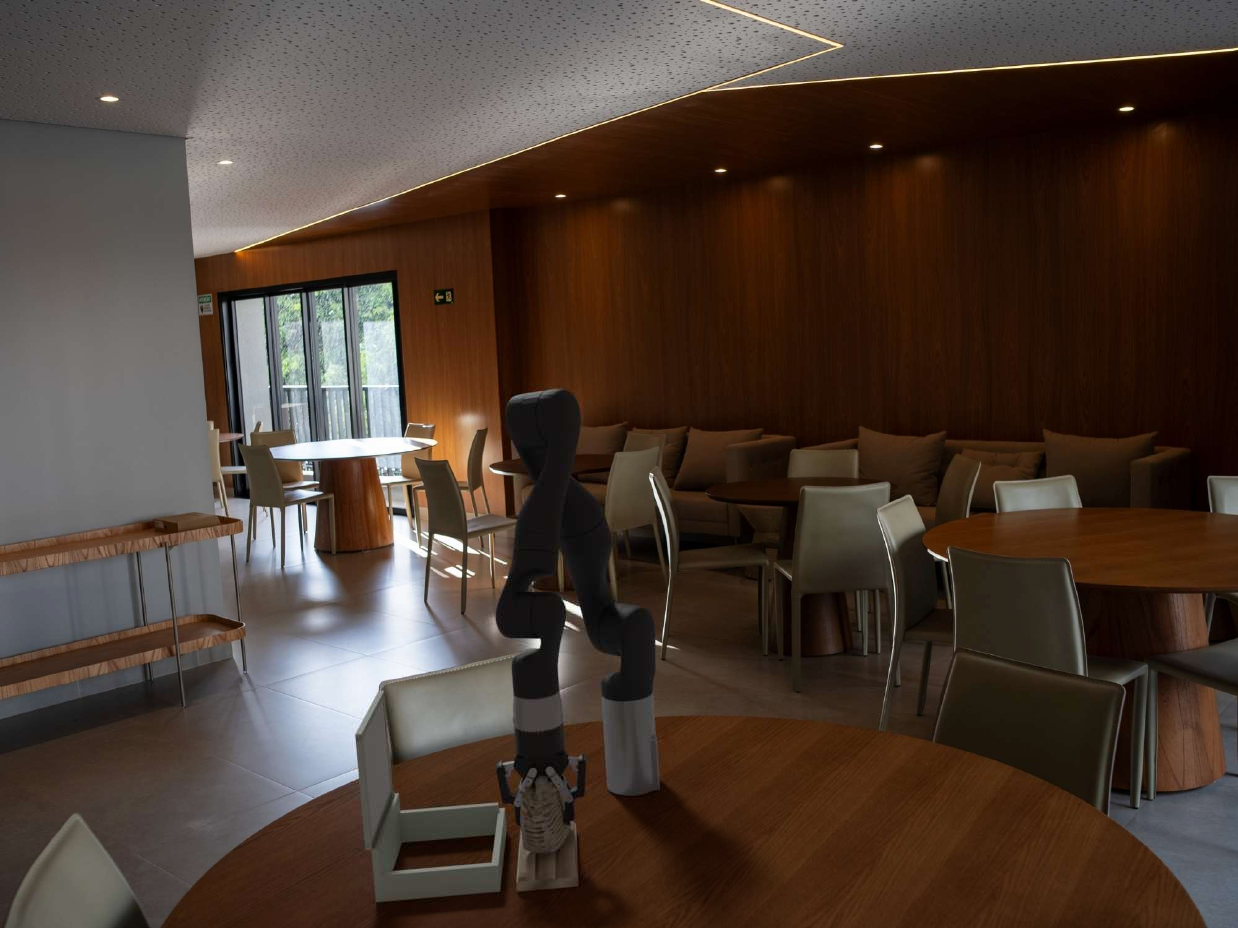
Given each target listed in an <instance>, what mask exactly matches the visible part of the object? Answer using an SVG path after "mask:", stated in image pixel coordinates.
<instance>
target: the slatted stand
mask: <svg viewBox="0 0 1238 928" xmlns="http://www.w3.org/2000/svg"><path fill="white" fill-rule="evenodd" d="M571 824H572V826H571V829H570V830H569V831H570V832H569V833H568V834H567V836H566V839H565V841H564V842H563V844H561V845H560V848H559V849H557V850H556V851H555V852H553V853H536V852H529V851H528V850H525V849H524V848H523V842H522V831H521V827H520V828H519V829H520V831H519V842H518V843H519V844H518V855H517V856H518V857H517V868H516V869H517V871H516V892H528V891H529V892H530V891H539V890H550V889H551V890H552V889H563V888H573V887H579V886H580V885H579V870H578V869H579V867H578V866H579V865H578V842H577V841H578V839H577V825H576V824H577V823H575V821H571Z"/></svg>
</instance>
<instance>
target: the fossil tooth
mask: <svg viewBox="0 0 1238 928" xmlns="http://www.w3.org/2000/svg"><path fill="white" fill-rule="evenodd" d="M535 786H536V787H532V786H530V788H529V789H527V790H526V791H525V796H524V798H523V803H522V805H521V809H520V821H521V822H520V824H521V826H520V828H521V831H522V842H523V848H524V849H525V850H528V851H529V852H536V853H553V852H555V851H556V850H557V849H559V848H560V845H561V844H563V842H564V841H565V839H566V836H567V834H568V833H569V832H570V831H569V830H570V829H571V826H572V824H571V821H570V825H566V819H565V804H564V797H563V796H562V794H561V793H560V792H559V791H558V789H557V788H556V786H555V785H554V784H553V781H549V780H548V776H542V775H539V776H538V778H537V780H535Z"/></svg>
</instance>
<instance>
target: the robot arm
mask: <svg viewBox="0 0 1238 928" xmlns="http://www.w3.org/2000/svg"><path fill="white" fill-rule="evenodd" d="M581 413H582V412H581V408H580V404H579V402H578V400H577V397H576V396H575V395H574V393H572V391H570V390H569V389H566V388H553V389H546V390H540V391H533V392H526V393H522V394H517V395H514V396H512V397H511V398H510V399H509V401H508V402H507V404H506V407H505V422H506V429H507V430H508V434H509V436H510V439H511V440H510V441H511V442H512V443H513V446H514V448H515V450H516V452H517V454H518V457H519V458H520V460H521V462H522V464H523V466H524V468H525V469H526V472H527V473H528V475H529V477H530V479H531V482H532V483H533V485H534V486H533V488H532V490H531V491H530V492H529V493H528V495H527V497H526V499H525V500H524V503H523V504H522V506H521V509H520V511H519V512H518V516H517V519H516V522H515V527H514V539H513V547H512V549H513V550H512V558H511V559H512V561H511V564H510V567H509V571H508V574H507V577H506V580H505V583H504V586H503V589H502V590H501V594H500V596H499V599H498V602H497V605H496V609H495V618H494V619H495V625H496V627H497V630H498V631H499V633H500V634H501V635H502V636H503V637H505V638H507V639H527V640H528V639H529V640H530V639H531V640H536V639H537V640H540V645H539V648H536V649H532V650H527V651H523V652H521V653H518V654H517V655H515V656H514V657H513V659H512V661H511V676H512V677H511V678H512V679H511V681H512V691H513V692H512V695H513V698H512V699H513V700H512V723H513V730H514V731H513V733H514V744H515V757H514V758H513V760H512V761H504V760H499V761H498V762H497V764H496V768H495V769H496V770H495V771H496V772H495V773H496V776H497V782H498V787H499V793H500V799H501V802H502V804H503V805H507V804H511V805H513V807H514V813H515V814H514V816H515V825H516V826H517V827H519V826H520V827H521V824H520V822H521V821H520V809H521V805H522V803H523V798H524V796H525V791H526V790H527V789H529V788H530V786H532V787H536V786H535V780H537V778H538V776H539V775H542V776H548V780H549V781H553V784H554V785H555V786H556V788H557V789H558V791H559V792H560V793H561V795H562V798H563V801H564V805H565V819H566V825H570V821H574V820H575V817H576V816H575V800H577V799H579V798H580V799H581V798H584V796H585V795H586V794H585V791H586V775H587V773H586V771H587V759H586V758H587V757H586V755H585V754H584V753H580V754H579V755H577V756H569V755H568V753H567V750H566V746H565V745H566V743H565V731H564V730H565V729H564V712H563V702H562V698H561V697H562V696H561V691H560V681H559V658H560V657H559V656H560V649H561V643H562V638H563V634H564V629H565V625H566V619H567V607H566V603H565V602H564V600H563V598H562V597H561V596H560V595H559V594H558V593H557V592H553V591H528V589H529V587H530V586H531V584H533V583H534V582H537V581H539V580H542V579H546V578H551V577H553V576H554V575H555V574H556V573H557V572H558V571H557V570H558V567H559V555H560V554H561V556H562V558H563V560H564V563H565V566H566V569H567V571H568V574H569V577H570V579H571V583H572V586H573V588H574V591H575V594H576V597H577V598H576V599H577V601H578V604H579V608H580V613H581V616H582V620H583V624H584V628H585V631H586V634H587V637H588V640H589V643H591V645H592V647H594V649H595V650H596V651H598V652H600V653H603V654H605V655H610V656H616V657H620V669H619V670H616V671H612V672H610V673H608V674H606V675H604V676H603V677H602V679H601V681H600V692H601V705H602V706H601V707H602V723H603V725H602V726H603V738H604V756H605V757H604V758H605V769H606V770H605V771H606V773H605V775H606V785H607V786H606V787H607V790H608V791H610V792H612V793H613V794H615V795H618V796H619V795H620V796H627V797H633V796H634V797H635V796H642V795H646V794H649V793H651V792H653V791H659V790H661V789H660V788H661V787H660V771H659V769H660V768H659V767H660V766H659V751H658V739H657V734H656V720H655V719H656V718H655V703H654V699H655V698H654V680H655V676H656V623H655V620H654V617H653V615H652V613H651V612H650V610H649V609H648V608H646V607H644V606H641V605H635V604H628V603H621V602H617V601H616V600H615V598H614V596H613V595H612V593H611V590H610V588H609V587H610V586H609V585H608V580H607V569H608V564H609V562H610V558H611V556H612V549H613V537H612V531H611V529H610V526H609V524H608V521H607V518H606V515H605V513H604V509H603V507H602V506H601V503H600V502H599V501H598V499H597V498H596V497H595V496H594V495H593V494H592V493H591V491H589V490H588V489H587V488H586V487H585V486H584V485H583V484H581V483H580V482H579V481H578V480H576V479H575V478H574V476H572V473H573V472H572V471H573V466H574V461H575V459H576V453H577V449H578V444H579V440H580V435H581V426H582V425H581V424H582V414H581ZM569 765H570V766H571V767H572V768H571V769H572V770H573V772H575V773H576V786H574V787H571V786H570V784H569V783H568V781H567V778H566V777H565V775H564V772H565V771H566V769H567V768H568V767H569ZM513 770H515V772H516V773H517V774H518V775H519V776H520V777H521V780H520V782H519V785H518V788H517V789H516V792H513V791H511V789H510V784H509V783H510V782H509V777H511V775H512V771H513ZM574 822H575V821H574Z"/></svg>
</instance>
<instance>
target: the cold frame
mask: <svg viewBox="0 0 1238 928" xmlns="http://www.w3.org/2000/svg"><path fill="white" fill-rule="evenodd" d="M386 707H387V706H386V697H385V690H378V691H377V692H376V695H375V697H374V698H373V700H372V702H371V704H370V706H369V708H368V710H367V712H366V714H365V715H364V717H363V719H362V721H361V723H360V725H359V727H358V728H357V730H356V732H355V734H354V736H355V737H354V738H355V747H356V750H355V751H356V758H357V759H356V761H357V769H358V783H359V792H360V793H359V794H360V804H361V805H360V806H361V815H362V817H361V818H362V827H363V837H364V848H365V851H371V861H372V872H373V873H372V874H373V883H374V885H373V886H374V893H375V894H374V895H375V903H383V902H385V903H386V902H392V901H393V902H394V901H405V900H416V899H417V900H418V899H430V898H438V897H439V898H441V897H449V896H450V897H453V896H463V895H472V894H473V895H476V894H484V893H485V894H487V893H497V892H498V893H499V892H501V886H502V878H503V876H502V875H503V868H504V858H505V857H504V856H505V849H506V848H505V847H506V839H507V838H506V837H507V822H506V821H507V820H506V807H500V808H499V802H488V803H479V804H478V803H475V804H464V805H452V806H441V807H440V806H439V807H427V808H417V809H405V810H404V809H403V810H401V804H400V803H401V802H400V801H401V800H400V793H398V792H395V790H394V789H393V780H392V778H393V777H392V768H391V767H392V765H391V755H390V742H389V731H388V730H389V729H388V721H387V708H386ZM484 836H494V843H493V851H492V857H491V858H492V859H491V862H484V863H473V864H461V865H460V864H459V865H449V866H439V867H425V868H424V867H423V868H416V869H415V868H414V869H413V868H412V869H402V870H394V868H395V865H396V862H397V859H398V857H399V853H400V850H401V846H402V844H404V843H411V842H413V843H414V842H425V841H435V840H448V839H458V838H459V839H460V838H471V837H473V838H474V837H484Z"/></svg>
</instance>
